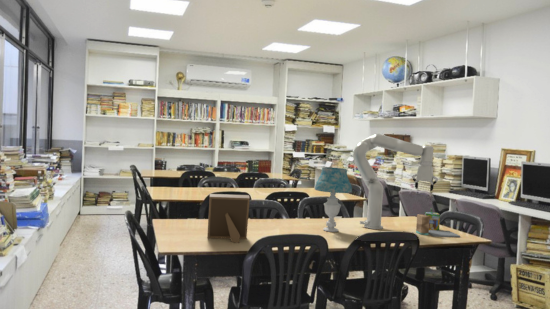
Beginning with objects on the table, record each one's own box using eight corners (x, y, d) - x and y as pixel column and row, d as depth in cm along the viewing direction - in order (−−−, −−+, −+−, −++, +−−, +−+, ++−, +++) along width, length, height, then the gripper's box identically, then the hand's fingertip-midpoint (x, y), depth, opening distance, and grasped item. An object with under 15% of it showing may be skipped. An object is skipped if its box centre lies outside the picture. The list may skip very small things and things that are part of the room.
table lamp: (355, 230, 303) (359, 169, 301) (339, 236, 283) (343, 170, 281) (322, 225, 316) (326, 166, 314) (305, 230, 296) (309, 167, 294)
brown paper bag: (420, 234, 301) (422, 216, 301) (416, 232, 309) (417, 214, 309) (428, 235, 302) (429, 216, 301) (423, 232, 310) (424, 214, 309)
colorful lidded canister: (439, 231, 316) (440, 209, 316) (425, 230, 318) (426, 208, 317) (437, 229, 325) (438, 208, 325) (423, 227, 327) (425, 206, 326)
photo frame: (207, 236, 263) (209, 192, 262) (245, 237, 267) (248, 193, 265) (207, 242, 249) (210, 196, 247) (248, 243, 252) (250, 197, 251)
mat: (433, 236, 298) (433, 234, 298) (422, 231, 314) (423, 229, 314) (460, 237, 300) (460, 235, 300) (448, 232, 315) (448, 230, 315)
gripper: (411, 163, 313) (409, 188, 314) (438, 165, 303) (435, 191, 304) (414, 162, 319) (412, 187, 320) (440, 165, 310) (438, 191, 311)
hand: (423, 189), depth 312 cm, fingers open, 9 cm apart
